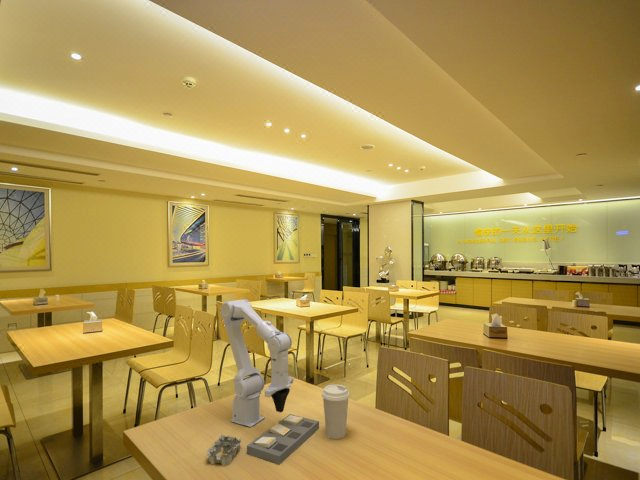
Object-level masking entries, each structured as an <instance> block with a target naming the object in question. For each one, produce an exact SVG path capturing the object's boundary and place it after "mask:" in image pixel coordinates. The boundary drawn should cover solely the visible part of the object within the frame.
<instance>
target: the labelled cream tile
mask: <svg viewBox="0 0 640 480" xmlns="http://www.w3.org/2000/svg"><path fill="white" fill-rule="evenodd" d="M292 415H293V414H292ZM292 415H290V416H288V415H287V416H288V417H287V416H286V417H287V418H286V419H284V418H283V419H284V423H288V424H291V425H295V426H298V425H299V424H300V423H301V422H303V418H301V417H302V416H300V417H297V416H298V415H296V416H292Z"/></svg>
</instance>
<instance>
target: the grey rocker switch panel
mask: <svg viewBox="0 0 640 480" xmlns="http://www.w3.org/2000/svg"><path fill="white" fill-rule="evenodd" d="M290 415H292V416H297V417H301V418H303V422H301V423H300V424H299V425H298V426H295V425H291V424H288V423H284V419H286V418H287V417H288V416H290ZM278 423H279V424H281V425H282V426H284V427H286V428H288V429H290V432H289V433H288V434H287V435H285V436H284V437H283V436H279V435H276V434H273V433H271V432H270V429H271V428H272V427H270V428H269V429H268V430H266V431H265V432H264V433H262V434H261V435H259V436H258V437H257V438H256V439H254V440H253V441H251V442H250V443H248V444H247V445H246V454H247V455H249V456H252V457H253V456H254V457H257V458H259V459H262V460H264V461H265V460H266V461H268V462H271V463H274V464H277V465H280V464H282V463H283V462H284V461H285V460H286V459H287V458H288V457H289V456H290V455H292V453H295V451H296V450H297V449H298V448H299V447H300V446H301V445H302V444H304V442H306V441H307V440H308V439H309V438H310V437H311V436H312V435H313V434H314V433H315V432H317V431H318V430H319V429H320V421H319V420H315V419H311V418H308V417H303V416H299V415H295V414H291V413H290V414H288V415H286V417H284V418H282V419H281V420H280V421H278ZM262 437H276V442H275V443H274V444H273V445H271V446H270V447H269V448H264V447H260V446H257V445H255V442H256V441H257V440H259V439H260V438H262Z"/></svg>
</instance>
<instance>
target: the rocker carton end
mask: <svg viewBox="0 0 640 480" xmlns="http://www.w3.org/2000/svg"><path fill="white" fill-rule="evenodd" d="M275 442H276V437H262V438H260V439H259V440H257V441H256V442H255V445H257V446H260V447H264V448H269V447H270V446H271V445H273V444H274V443H275Z"/></svg>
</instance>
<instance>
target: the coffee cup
mask: <svg viewBox="0 0 640 480" xmlns="http://www.w3.org/2000/svg"><path fill="white" fill-rule="evenodd" d="M350 397H351V394H350V391H349V390H348V387H346V386H345V385H341V384H329V385H326V386H325V387H323V390H322V392H321V398H322V401H323V411H324V412H323V413H324V423H325V436H327V437H328V438H329V439H333V440H341V439H344V438H345V437H346V435H347V420H348V419H347V418H348V408H349V407H348V406H349V398H350Z"/></svg>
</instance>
